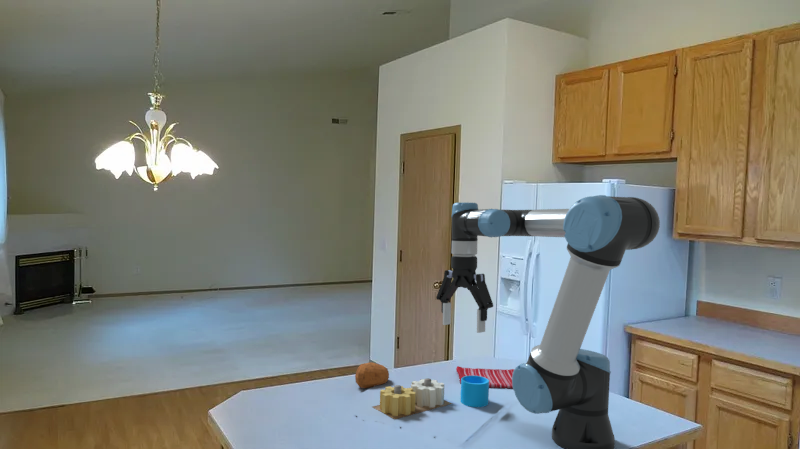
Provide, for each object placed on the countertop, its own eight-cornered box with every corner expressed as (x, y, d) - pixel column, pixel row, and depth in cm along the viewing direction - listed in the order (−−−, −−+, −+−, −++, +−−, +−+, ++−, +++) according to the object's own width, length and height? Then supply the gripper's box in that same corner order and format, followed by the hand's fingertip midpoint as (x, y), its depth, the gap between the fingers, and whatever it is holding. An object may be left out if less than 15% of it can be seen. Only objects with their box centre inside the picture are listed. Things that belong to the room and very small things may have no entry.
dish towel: (455, 372, 197) (455, 365, 197) (522, 374, 196) (522, 367, 196) (458, 388, 180) (459, 380, 180) (531, 391, 179) (532, 383, 179)
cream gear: (449, 399, 163) (450, 383, 163) (434, 410, 155) (435, 392, 155) (420, 393, 168) (420, 377, 168) (404, 403, 160) (404, 386, 160)
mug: (490, 412, 158) (491, 384, 158) (462, 412, 158) (462, 384, 158) (483, 398, 170) (484, 371, 170) (457, 397, 170) (458, 371, 170)
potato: (351, 383, 181) (352, 360, 181) (384, 380, 184) (385, 358, 184) (358, 392, 172) (358, 368, 172) (392, 389, 175) (393, 366, 175)
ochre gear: (412, 417, 149) (413, 398, 149) (377, 414, 151) (377, 396, 151) (416, 404, 159) (417, 387, 159) (383, 401, 160) (383, 384, 160)
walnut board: (452, 408, 160) (453, 381, 160) (394, 424, 148) (395, 395, 147) (427, 397, 169) (428, 371, 169) (371, 411, 156) (372, 384, 156)
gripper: (506, 257, 153) (505, 333, 154) (443, 252, 172) (442, 320, 173) (488, 258, 149) (487, 337, 149) (425, 253, 168) (424, 322, 168)
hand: (463, 328), depth 161 cm, fingers open, 13 cm apart
